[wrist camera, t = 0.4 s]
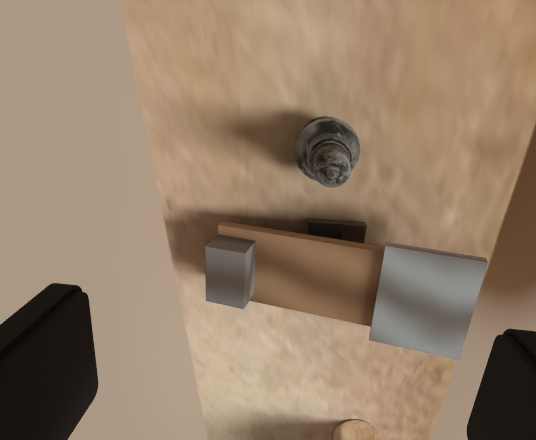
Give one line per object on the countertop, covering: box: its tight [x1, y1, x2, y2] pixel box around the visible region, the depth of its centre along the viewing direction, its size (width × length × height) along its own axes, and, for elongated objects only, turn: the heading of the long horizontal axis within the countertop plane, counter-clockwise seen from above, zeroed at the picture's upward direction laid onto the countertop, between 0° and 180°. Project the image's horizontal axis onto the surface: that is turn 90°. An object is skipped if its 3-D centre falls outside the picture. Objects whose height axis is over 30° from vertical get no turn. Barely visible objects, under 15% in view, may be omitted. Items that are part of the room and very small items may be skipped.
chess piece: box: [295, 117, 360, 187], centre depth 33 cm, size 6×6×12 cm
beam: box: [205, 221, 488, 360], centre depth 36 cm, size 10×24×4 cm, turn 87°
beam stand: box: [307, 218, 366, 244], centre depth 40 cm, size 8×22×5 cm, turn 87°
